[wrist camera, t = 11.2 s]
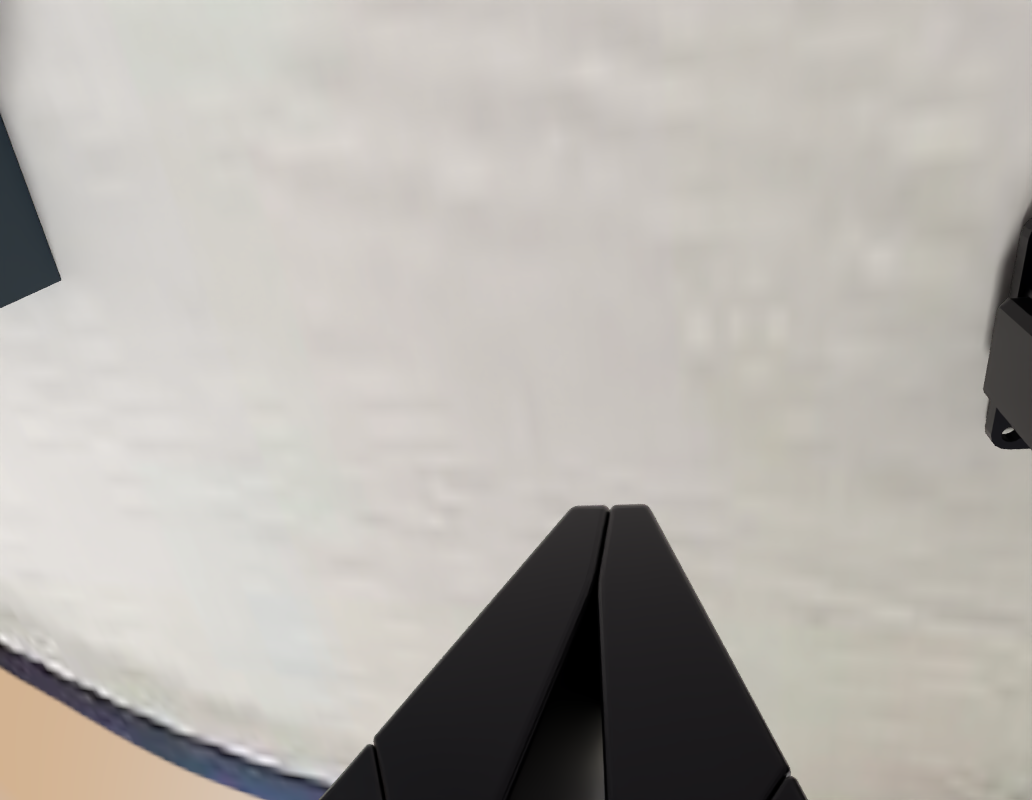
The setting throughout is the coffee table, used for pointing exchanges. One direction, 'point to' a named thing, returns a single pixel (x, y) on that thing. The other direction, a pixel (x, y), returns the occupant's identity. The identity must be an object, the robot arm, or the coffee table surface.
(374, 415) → the coffee table surface
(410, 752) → the robot arm
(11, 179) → the watch
